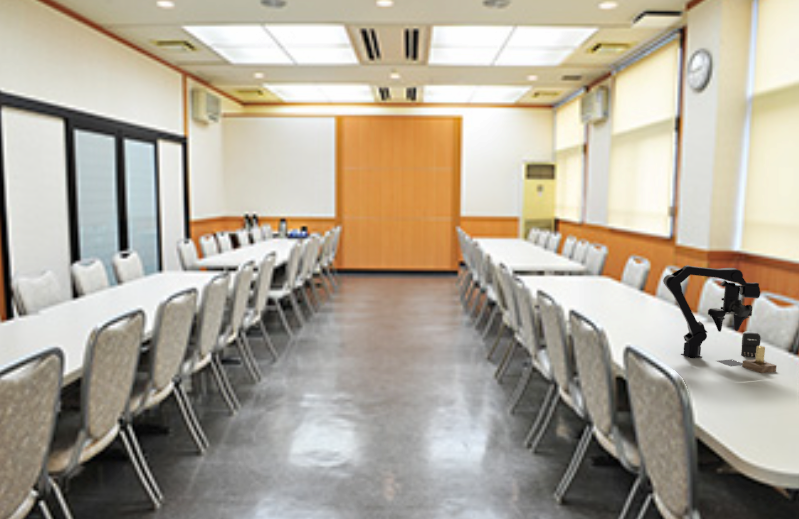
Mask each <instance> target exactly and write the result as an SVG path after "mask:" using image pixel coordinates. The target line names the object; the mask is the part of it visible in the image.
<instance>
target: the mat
mask: <svg viewBox="0 0 799 519" xmlns="http://www.w3.org/2000/svg"><path fill="white" fill-rule="evenodd" d="M732 360H733V361H732ZM737 361H738V360H735V359H722V360H716V362H718V363H721V364H724V365H726V366H728V367H738V366H739V367H740V366H742V363H743V362H741V361H738V362H737Z"/></svg>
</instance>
